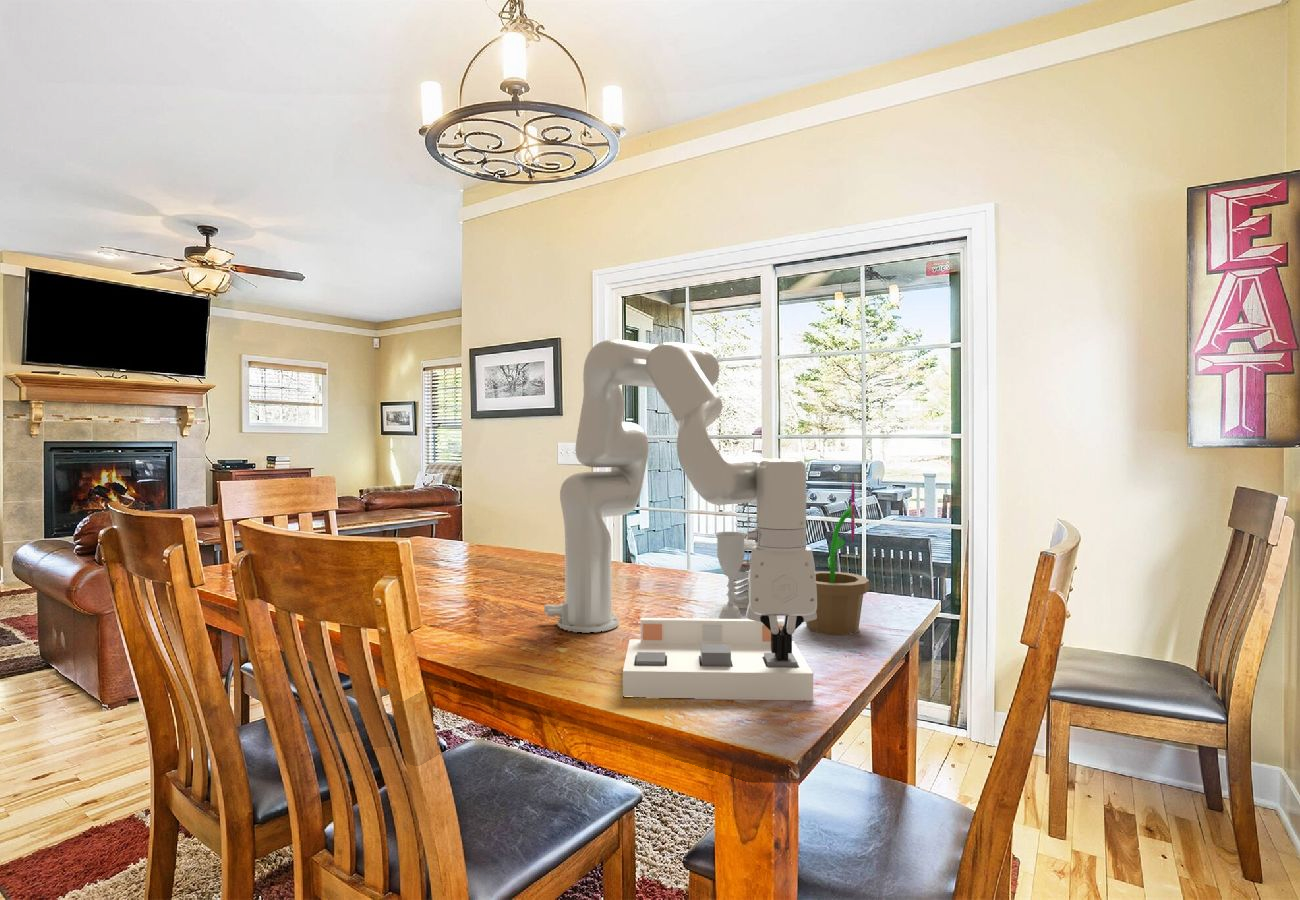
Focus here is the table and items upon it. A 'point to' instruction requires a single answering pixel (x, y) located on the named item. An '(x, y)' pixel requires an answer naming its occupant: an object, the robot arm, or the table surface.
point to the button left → (650, 659)
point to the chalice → (730, 566)
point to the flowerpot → (839, 590)
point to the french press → (743, 576)
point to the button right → (779, 661)
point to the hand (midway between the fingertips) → (781, 657)
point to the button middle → (715, 655)
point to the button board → (704, 682)
